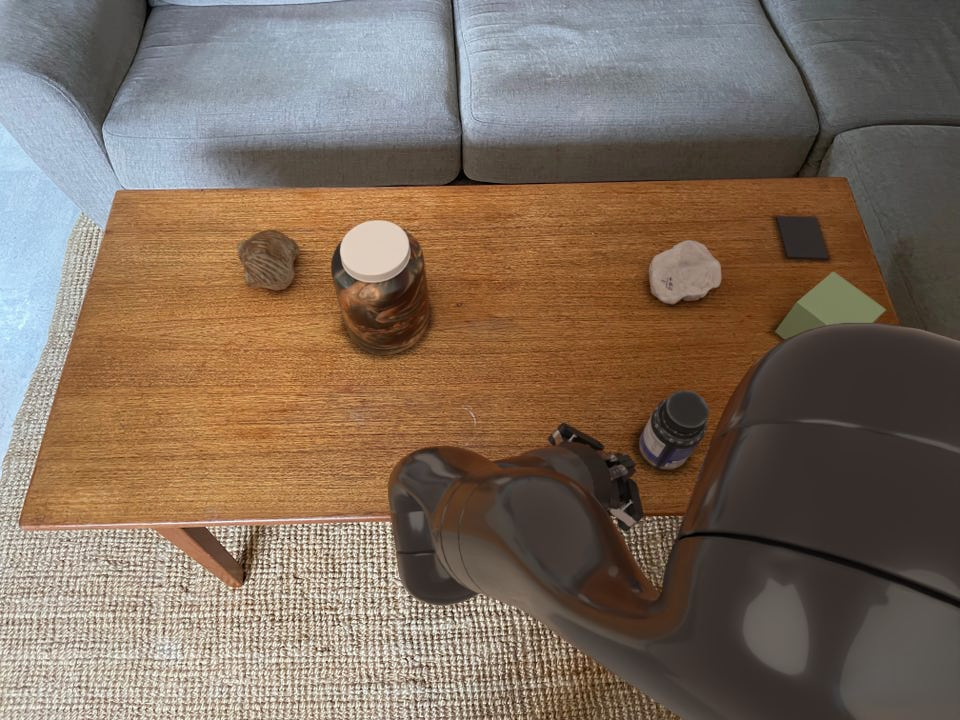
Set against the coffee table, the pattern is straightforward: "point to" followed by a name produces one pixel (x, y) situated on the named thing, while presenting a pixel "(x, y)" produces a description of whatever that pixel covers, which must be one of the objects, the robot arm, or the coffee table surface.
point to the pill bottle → (674, 430)
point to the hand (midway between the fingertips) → (626, 465)
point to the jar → (381, 287)
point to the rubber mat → (802, 237)
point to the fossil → (684, 273)
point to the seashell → (268, 259)
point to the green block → (829, 307)
